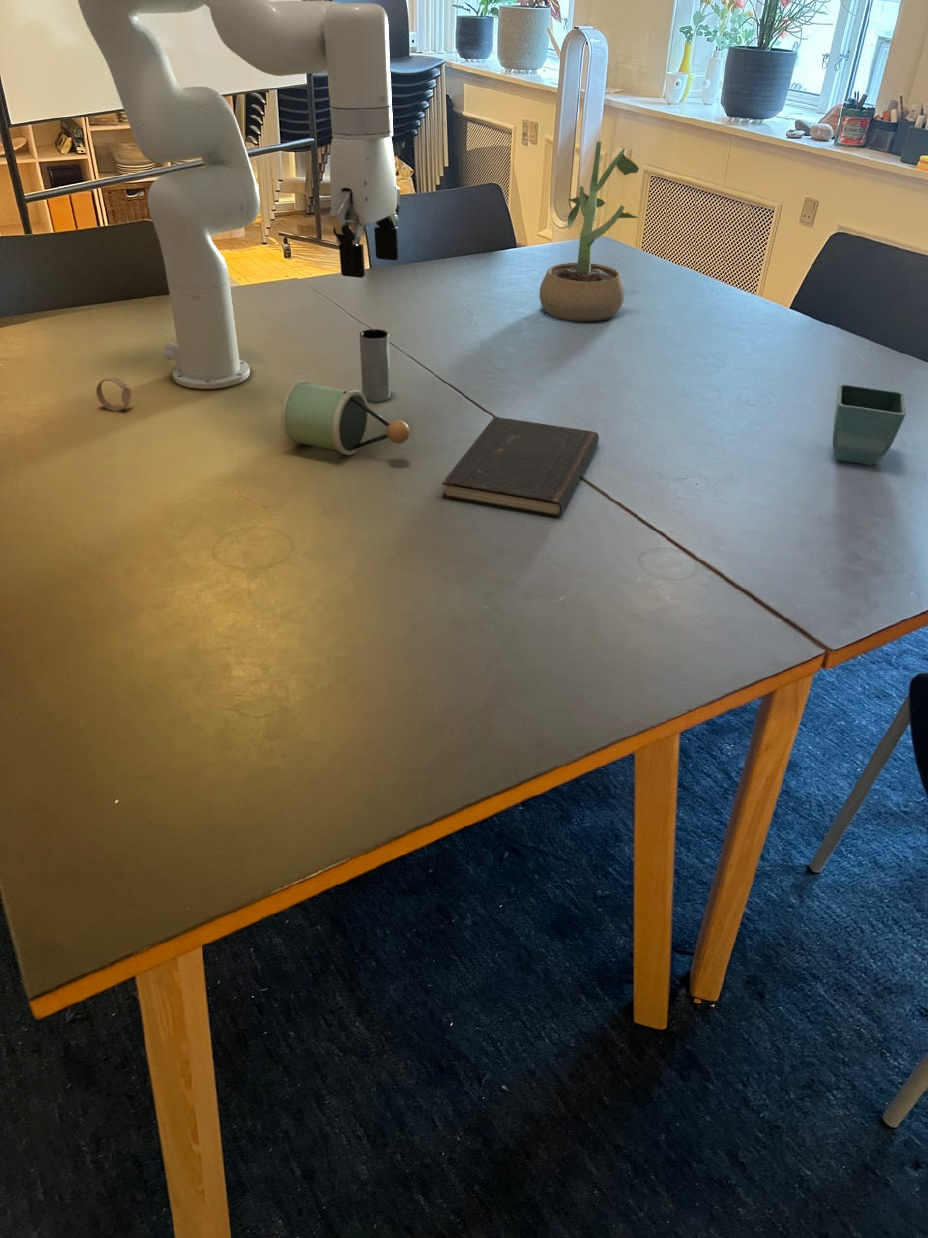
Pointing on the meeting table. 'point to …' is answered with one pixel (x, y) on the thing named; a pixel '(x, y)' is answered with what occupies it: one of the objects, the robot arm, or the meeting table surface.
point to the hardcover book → (522, 466)
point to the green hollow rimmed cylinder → (332, 418)
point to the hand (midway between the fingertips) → (370, 267)
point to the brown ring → (125, 394)
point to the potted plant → (587, 260)
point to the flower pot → (866, 423)
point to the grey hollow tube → (375, 364)
